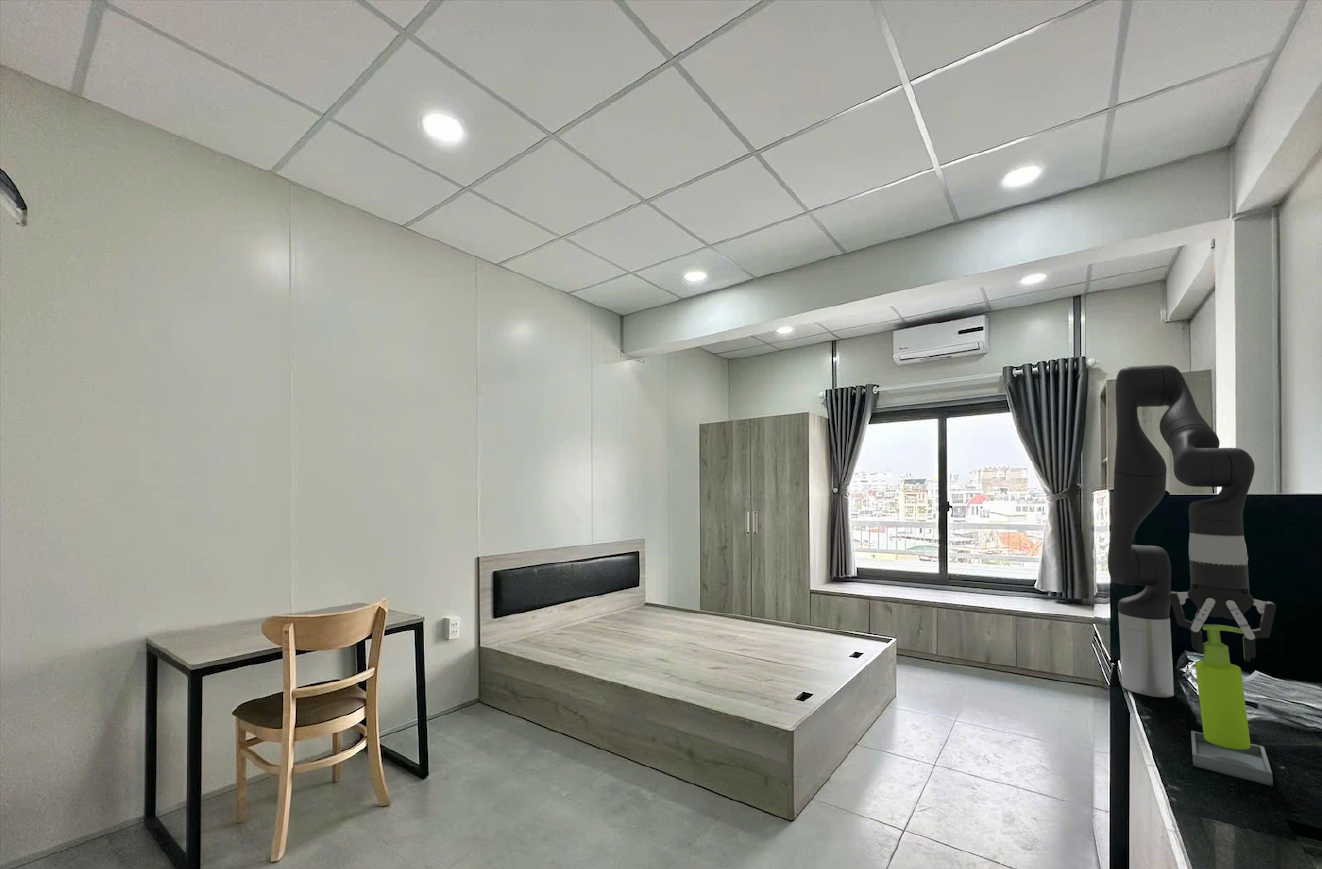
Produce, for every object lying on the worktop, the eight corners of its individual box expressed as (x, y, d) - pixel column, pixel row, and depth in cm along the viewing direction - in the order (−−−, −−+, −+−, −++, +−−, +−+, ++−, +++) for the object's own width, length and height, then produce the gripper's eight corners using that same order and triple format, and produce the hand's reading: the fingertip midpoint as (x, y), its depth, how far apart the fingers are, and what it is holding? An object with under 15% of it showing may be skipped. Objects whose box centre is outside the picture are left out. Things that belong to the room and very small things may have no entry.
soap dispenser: (1263, 754, 96) (1247, 631, 98) (1206, 744, 100) (1192, 627, 102) (1255, 741, 101) (1240, 624, 103) (1201, 732, 105) (1188, 620, 107)
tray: (1191, 741, 108) (1191, 730, 108) (1264, 758, 102) (1263, 746, 102) (1193, 766, 99) (1192, 754, 100) (1273, 786, 93) (1272, 773, 93)
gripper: (1273, 561, 101) (1279, 660, 100) (1164, 553, 110) (1169, 643, 109) (1279, 566, 95) (1285, 671, 94) (1164, 557, 105) (1168, 652, 104)
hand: (1223, 655), depth 102 cm, fingers closed on soap dispenser, 5 cm apart
